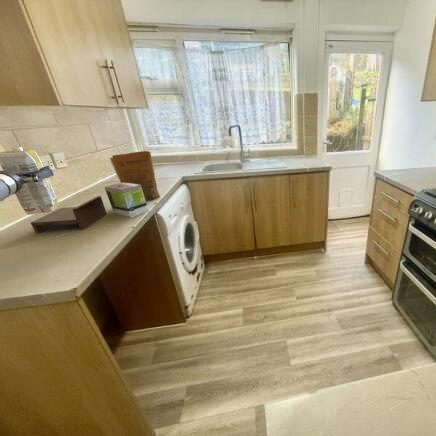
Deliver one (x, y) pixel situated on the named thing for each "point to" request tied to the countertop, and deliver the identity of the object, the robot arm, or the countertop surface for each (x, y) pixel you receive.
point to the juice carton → (33, 191)
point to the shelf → (73, 215)
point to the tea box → (127, 199)
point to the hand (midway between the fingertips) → (31, 171)
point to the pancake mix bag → (137, 171)
